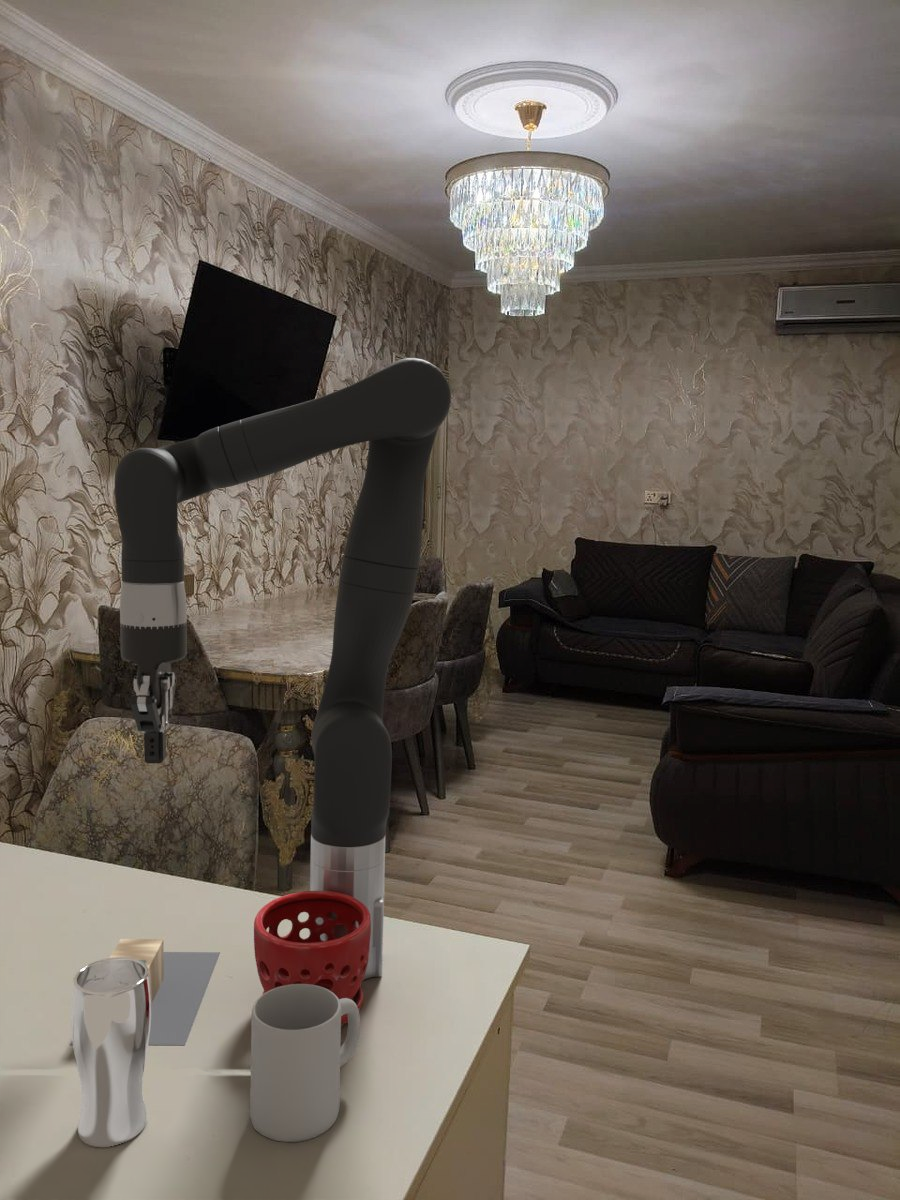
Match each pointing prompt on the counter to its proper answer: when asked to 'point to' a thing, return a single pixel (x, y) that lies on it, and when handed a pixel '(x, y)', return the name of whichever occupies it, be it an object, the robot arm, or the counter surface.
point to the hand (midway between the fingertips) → (155, 761)
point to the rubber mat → (179, 995)
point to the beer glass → (111, 1048)
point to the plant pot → (314, 944)
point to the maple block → (144, 958)
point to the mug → (298, 1060)
